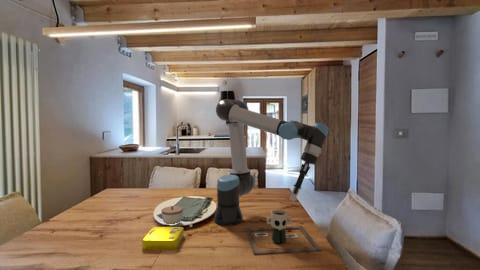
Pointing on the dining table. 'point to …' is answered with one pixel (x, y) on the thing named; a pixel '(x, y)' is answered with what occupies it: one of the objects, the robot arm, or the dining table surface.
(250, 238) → the label frame
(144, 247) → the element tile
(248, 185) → the robot arm
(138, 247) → the dining table surface
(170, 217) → the lidded jar
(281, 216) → the character mug
